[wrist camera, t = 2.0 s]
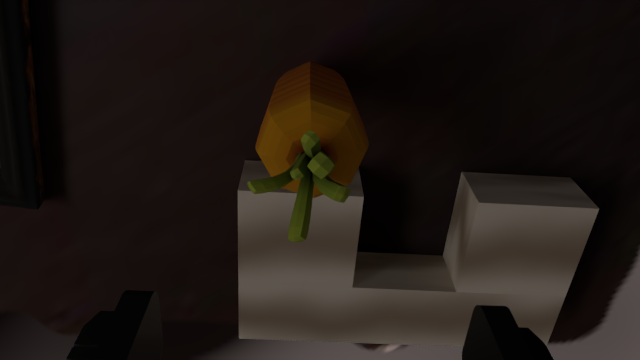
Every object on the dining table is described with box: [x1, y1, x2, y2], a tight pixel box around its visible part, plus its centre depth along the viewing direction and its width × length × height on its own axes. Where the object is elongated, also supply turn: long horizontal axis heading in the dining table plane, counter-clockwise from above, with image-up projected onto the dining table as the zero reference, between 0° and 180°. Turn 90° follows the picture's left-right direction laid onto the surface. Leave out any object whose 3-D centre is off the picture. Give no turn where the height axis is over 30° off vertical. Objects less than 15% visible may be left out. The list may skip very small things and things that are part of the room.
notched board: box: [238, 160, 599, 347], centre depth 36 cm, size 12×22×4 cm, turn 86°
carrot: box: [247, 61, 369, 242], centre depth 25 cm, size 5×5×15 cm
